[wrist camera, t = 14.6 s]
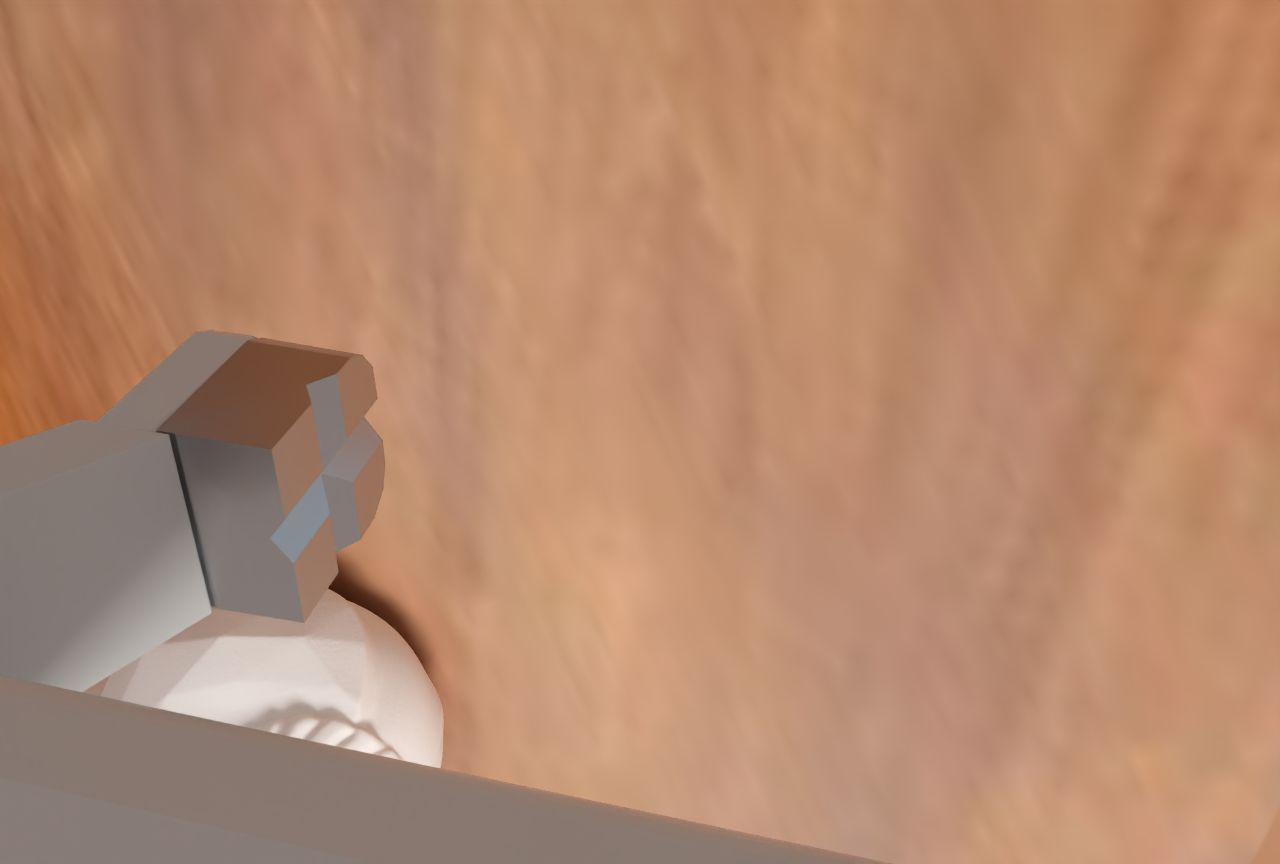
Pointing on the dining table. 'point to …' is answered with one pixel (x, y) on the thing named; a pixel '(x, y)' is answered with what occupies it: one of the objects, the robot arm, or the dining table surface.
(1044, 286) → the dining table surface
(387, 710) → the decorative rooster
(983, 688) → the dining table surface
